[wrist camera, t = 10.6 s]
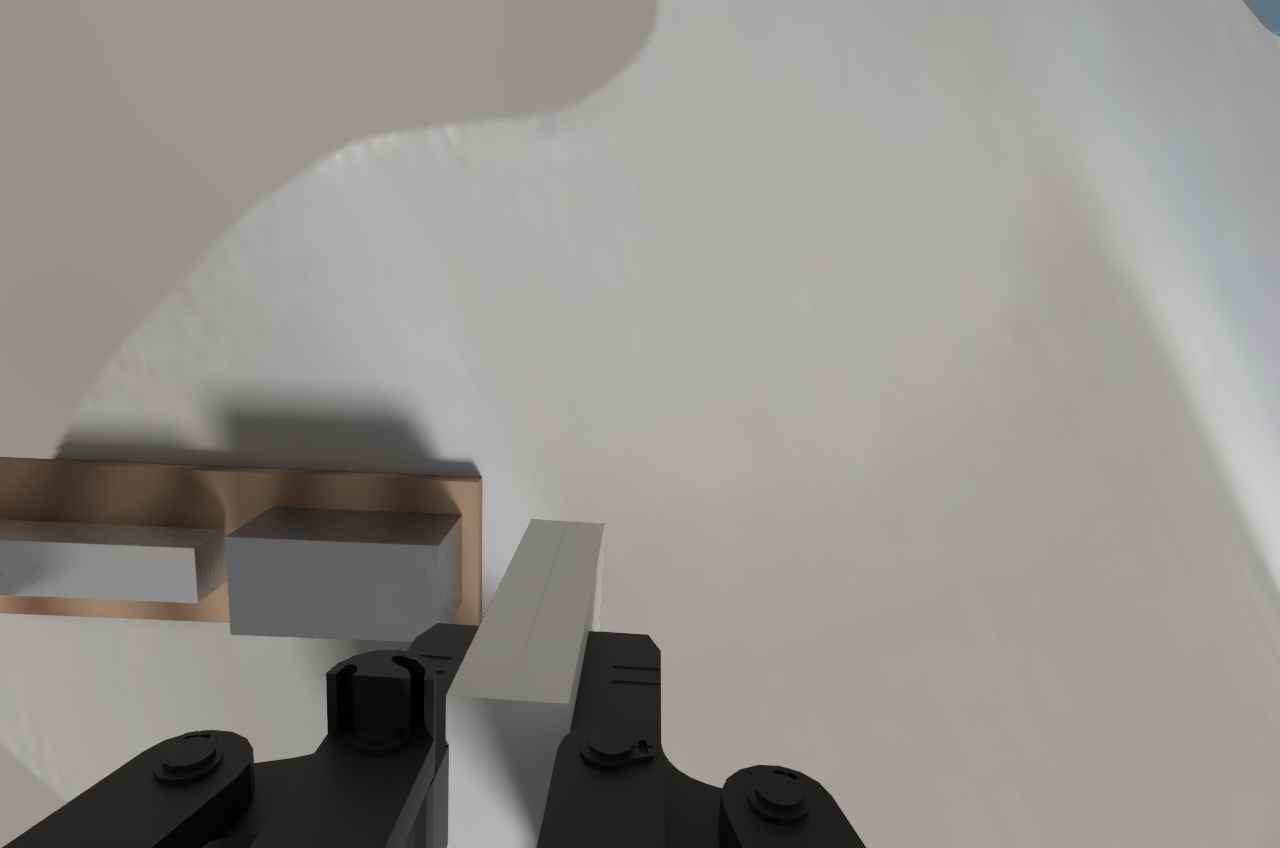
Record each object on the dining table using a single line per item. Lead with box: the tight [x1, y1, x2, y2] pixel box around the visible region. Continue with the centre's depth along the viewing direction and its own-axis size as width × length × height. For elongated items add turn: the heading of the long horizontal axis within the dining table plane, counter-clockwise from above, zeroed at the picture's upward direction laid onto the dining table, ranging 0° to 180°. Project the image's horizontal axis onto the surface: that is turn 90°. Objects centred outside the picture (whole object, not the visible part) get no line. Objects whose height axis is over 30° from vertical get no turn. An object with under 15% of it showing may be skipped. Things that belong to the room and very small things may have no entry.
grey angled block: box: [0, 520, 227, 603], centre depth 39 cm, size 16×4×8 cm, turn 88°
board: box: [0, 457, 482, 626], centre depth 45 cm, size 33×9×1 cm, turn 88°
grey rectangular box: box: [225, 507, 462, 642], centre depth 42 cm, size 11×5×5 cm, turn 87°
